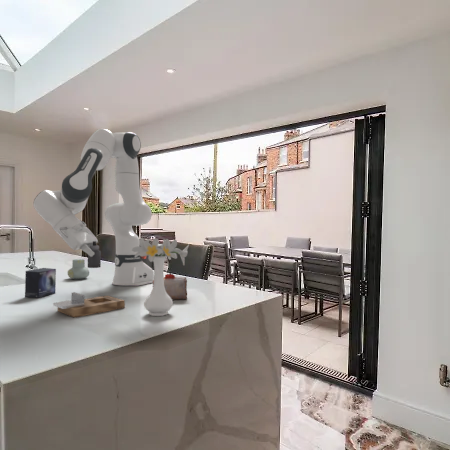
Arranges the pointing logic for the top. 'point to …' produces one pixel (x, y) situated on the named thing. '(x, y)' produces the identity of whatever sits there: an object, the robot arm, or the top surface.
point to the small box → (40, 282)
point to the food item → (175, 286)
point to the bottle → (94, 257)
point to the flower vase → (159, 272)
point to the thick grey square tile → (71, 301)
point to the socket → (94, 306)
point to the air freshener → (78, 269)
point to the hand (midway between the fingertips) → (96, 254)
